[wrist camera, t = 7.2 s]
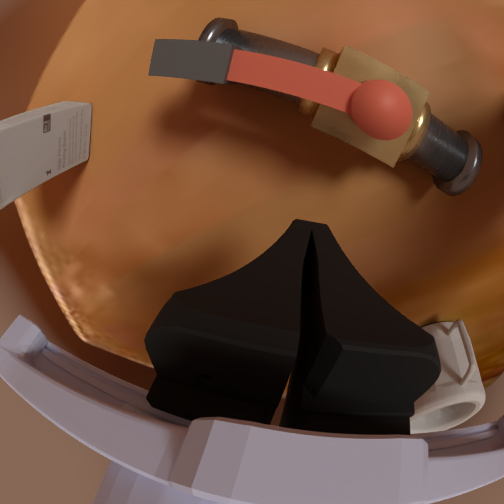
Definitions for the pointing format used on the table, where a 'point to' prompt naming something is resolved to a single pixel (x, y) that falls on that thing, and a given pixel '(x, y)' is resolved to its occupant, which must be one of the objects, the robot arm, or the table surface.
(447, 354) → the mug
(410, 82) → the valve body
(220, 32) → the pipe
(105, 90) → the table surface
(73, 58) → the table surface
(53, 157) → the skincare box
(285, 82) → the lever
